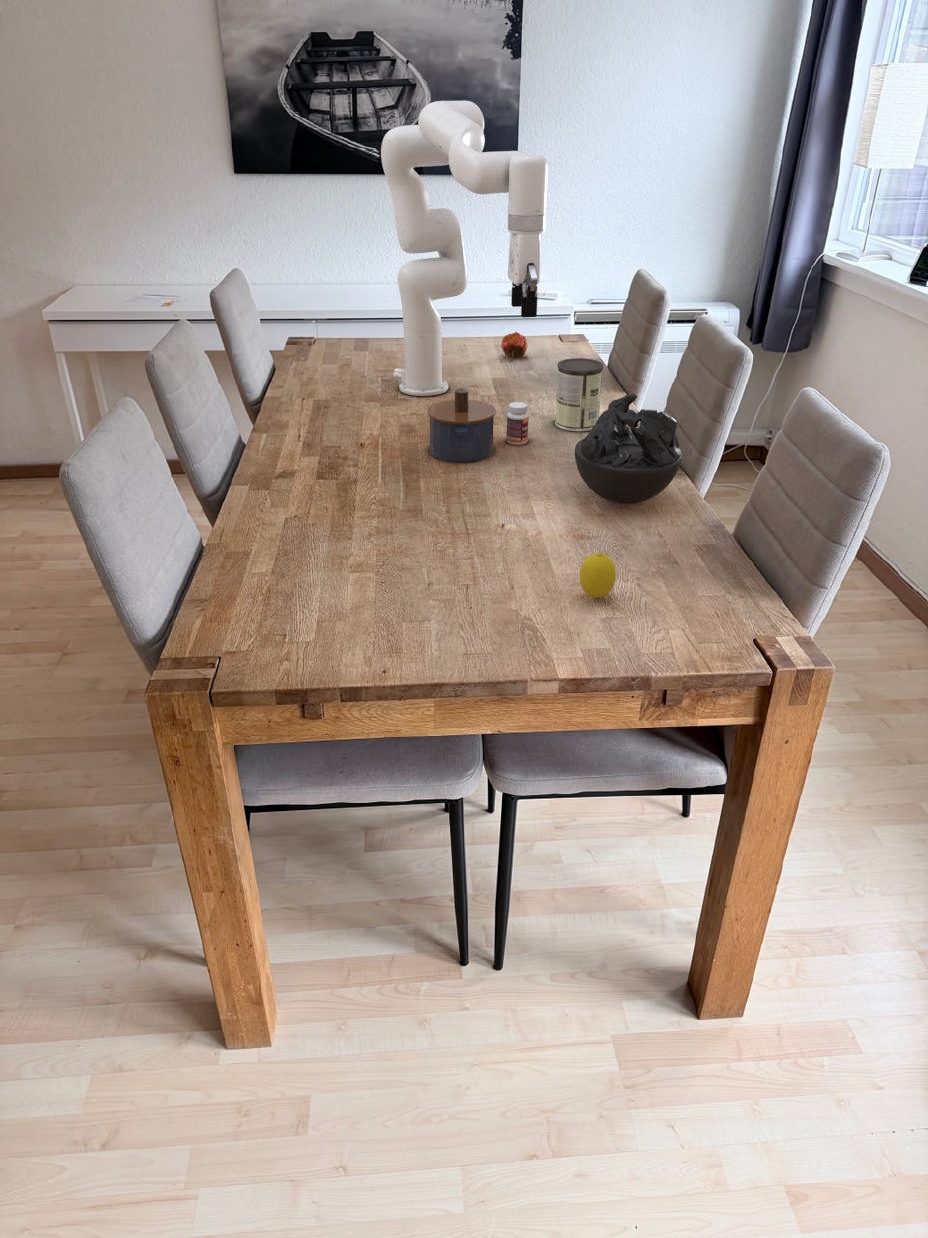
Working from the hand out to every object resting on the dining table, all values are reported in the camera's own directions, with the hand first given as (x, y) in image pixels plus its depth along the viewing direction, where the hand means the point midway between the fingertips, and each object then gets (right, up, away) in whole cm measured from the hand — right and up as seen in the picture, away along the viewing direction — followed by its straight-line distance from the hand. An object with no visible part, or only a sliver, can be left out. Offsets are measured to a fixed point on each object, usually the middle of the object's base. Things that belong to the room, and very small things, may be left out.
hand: (523, 311), depth 190 cm
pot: (-13, -28, +6) cm, 32 cm away
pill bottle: (-1, -25, +11) cm, 28 cm away
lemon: (+8, -62, -48) cm, 79 cm away
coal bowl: (+18, -42, -15) cm, 48 cm away
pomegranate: (+2, +10, +69) cm, 70 cm away
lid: (-13, -21, +2) cm, 25 cm away
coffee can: (+14, -19, +21) cm, 32 cm away
